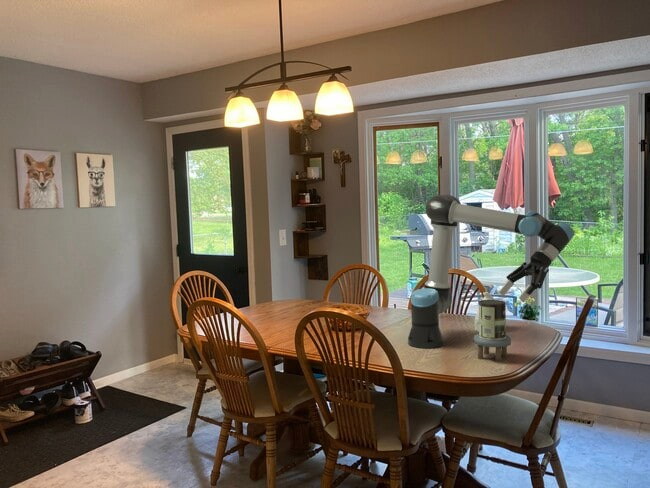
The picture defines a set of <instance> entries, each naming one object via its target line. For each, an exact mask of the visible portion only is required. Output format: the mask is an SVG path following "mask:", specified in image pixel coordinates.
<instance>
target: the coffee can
mask: <svg viewBox="0 0 650 488" xmlns="http://www.w3.org/2000/svg"><path fill="white" fill-rule="evenodd" d="M477 302H478V303H477V305H478V304H479V307H478V309H479V331H478V332H479V333H478V334H479V337H480V338H482V339H485V340H503V339H505V338H506V335H507V333H506V331H507V329H506V328H507V327H506V326H507V324H506V323H507V322H506V321H507V319H506V312H507V311H506V304H507V302H506V301H505V300H501V299H495V300H483V299H481V300H479V301H477Z"/></svg>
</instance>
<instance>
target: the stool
mask: <svg viewBox="0 0 650 488" xmlns="http://www.w3.org/2000/svg"><path fill="white" fill-rule="evenodd" d="M473 343H474V344H475V345H477V359H478V360H483V359H484V355H490V348H495V362H498V363H499V362H502V358H507V356H508V353H507V352H508V350H507V348H508V347H509V346H511V344H512V337H511V336H510V335H507V334H506V338H505V339H503V340H485V339H482V338H480V337H479V333H477V334H474V335H473Z"/></svg>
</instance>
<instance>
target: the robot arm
mask: <svg viewBox="0 0 650 488" xmlns="http://www.w3.org/2000/svg"><path fill="white" fill-rule="evenodd" d="M424 208H425V209H424V210H425V214H426V216H427V217H428V218H429V220H430V225H431V226H432V228H433V232H432V241H431V251H430V252H431V253H430V261H429V269H428V270H429V271H428V278H427V280H426V282H424V285H423V286H424V287H423V288H418V289H416V290H414V291H412V292H411V297H410V305H411V308H410V309H411V314H410V315H411V328H410V330H409V333H408V336H407V337H408V338H407V345H409V346H411V347H414V348H419V349H435V348H439V347H442V346H443V345H444V338H443V335H442V332H441V329H440V321H439V319H440V314H442V313H445V312H446V311H447V310H448V309H449V308H450V307H451V305H452V302H453V295H452V293H451V284H449V281H448V280H449V272H450V271H449V270H450V263H451V253H452V245H453V235H454V230H455V229H456V228H457V227H458V224H459V223H460V224H465V225H473V226H477V227H481V228H482V227H483V228H487V229H493V230H498V231H503V232H507V233H514V234H520V235H523V236H524V237H525V236H526V237H531V238H532V237H535V236H537V237H538V238H540V239H542V240H543V242H542V243H540V246H539V247H538V248H537V249H536V251H534V252H533V254H532V255H531V257H529V258H530V259H529V260H530V262H529V263H527V262H526V261H524V262H522V264H521V265H520V266H518V267H517V268H515V270H513V271H511V273H509V274H508V275H506V279H507V281H506V282H505V283H504V284H503V286H501V288H500V289H499V290H498V293H499V294H500V295H501V296H502V297H504V296H505V295H506V294H507V293H508V292H509V291H510V289H511V288H512V287H513V286H514V285H515V282H517V281H519V280H521V279H523V278H525V277H528V276H531V281H530V284H528V285H526V287H525V288H524V290H523V291H522V292H521V293H520V295H519V296H518V299H519V300H520V301H521V303H525V301H526V300H527V299H528V298H529V297H530V296H531V295H532V294H533V292H534V291H535V290H538V289H539V290H540V289H542V288H543V284H544V282H545V279H546V276H547V274H548V273H549V271H550V269H549V267H550V266H551V265H552V263H553V262H554V261H555V260H556V259H557V257H558V256H559V255H560V253H562V251H563V250H564V249H565V248H566V247H567V245H568V244H569V243H570V242H571V240H572V239H574V236H575V230H574V228H573V227H572V226H571V225H569V224H568V223H567V224H566V223H565V222H559V223H558V224H555V223H554V222H552V221H550V220H549V219H547V218H546V217H545V216H543V215H541V214H540V213H539V212H537V211H535V210H531V209H530V210H529V211H527V213H526V214H520V213H515V212H507V211H502V210H496V209H490V208H485V207H480V206H472V205H467V204H463V203H461V200H459V198H457V197H456V196H454V195H450V194H437V195H434V196H432V197H430V198H429V199H428V200H427V201H426V203H425V207H424Z"/></svg>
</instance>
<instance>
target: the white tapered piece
mask: <svg viewBox="0 0 650 488" xmlns="http://www.w3.org/2000/svg"><path fill="white" fill-rule="evenodd" d="M483 296H484V297H483V298H482V300H496V299H495V298H494V296H492V295H491V294H490V292H488V291H487V292H486V291H484V292H483ZM477 307H478V308H477V311H476V314H475V315H476V316H475V317H474V330H475V331H477V332H479V304H478V303H477Z"/></svg>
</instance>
